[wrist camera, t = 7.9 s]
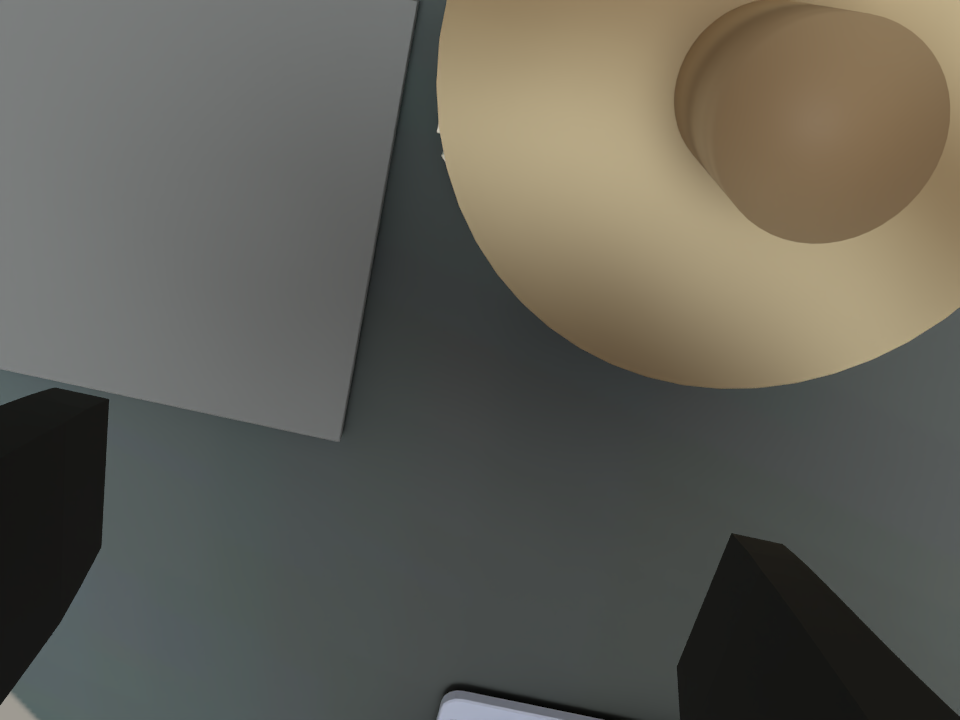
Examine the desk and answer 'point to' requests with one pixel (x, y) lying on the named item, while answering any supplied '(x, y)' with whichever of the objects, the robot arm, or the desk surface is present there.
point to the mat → (197, 197)
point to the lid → (712, 175)
